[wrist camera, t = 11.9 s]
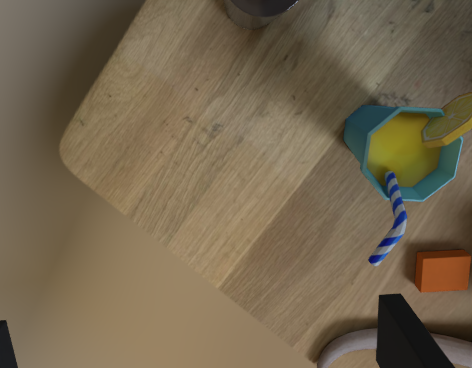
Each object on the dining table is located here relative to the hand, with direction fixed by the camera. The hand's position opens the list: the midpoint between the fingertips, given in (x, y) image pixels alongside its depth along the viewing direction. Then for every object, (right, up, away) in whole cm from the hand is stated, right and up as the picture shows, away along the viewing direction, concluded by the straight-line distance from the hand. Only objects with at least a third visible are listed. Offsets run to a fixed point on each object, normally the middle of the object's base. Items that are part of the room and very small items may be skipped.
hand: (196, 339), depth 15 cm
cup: (+14, +10, +28) cm, 32 cm away
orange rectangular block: (+23, -4, +32) cm, 40 cm away
